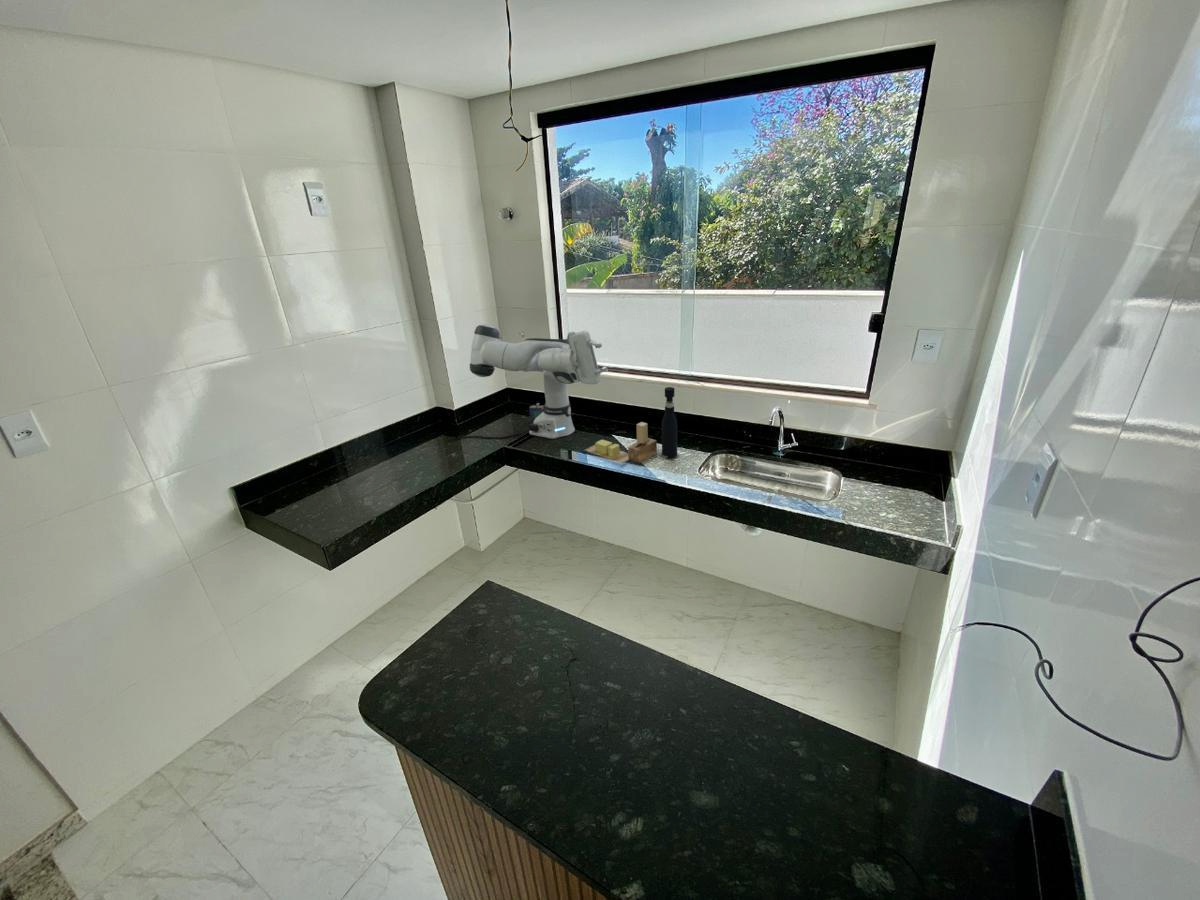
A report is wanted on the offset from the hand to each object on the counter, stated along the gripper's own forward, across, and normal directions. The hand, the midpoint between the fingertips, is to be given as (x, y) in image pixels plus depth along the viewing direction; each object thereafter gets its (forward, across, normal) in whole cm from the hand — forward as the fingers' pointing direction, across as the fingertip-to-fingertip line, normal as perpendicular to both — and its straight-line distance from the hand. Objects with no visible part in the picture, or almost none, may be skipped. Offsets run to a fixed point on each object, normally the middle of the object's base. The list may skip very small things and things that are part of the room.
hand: (603, 357), depth 177 cm
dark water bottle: (+10, +52, -16) cm, 55 cm away
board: (-14, +48, -6) cm, 50 cm away
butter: (-16, +46, -7) cm, 49 cm away
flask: (-65, +44, -24) cm, 82 cm away
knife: (+1, +50, -9) cm, 50 cm away
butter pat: (-11, +47, -6) cm, 48 cm away
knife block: (+1, +50, -9) cm, 50 cm away
